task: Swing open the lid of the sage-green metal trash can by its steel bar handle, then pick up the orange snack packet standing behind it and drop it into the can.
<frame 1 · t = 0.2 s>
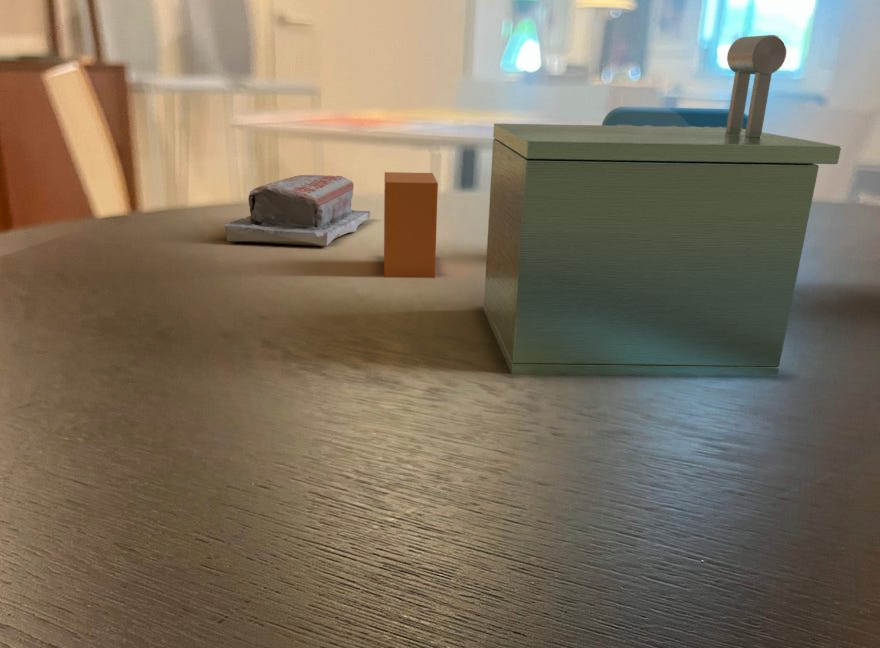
packaged product: (302, 235, 102), on the table
bin: (613, 343, 63), on the table
data package: (657, 265, 89), on the table
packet: (408, 269, 84), on the table
bin lid: (651, 93, 56), point 14 cm above the table, hinge at 0.0°
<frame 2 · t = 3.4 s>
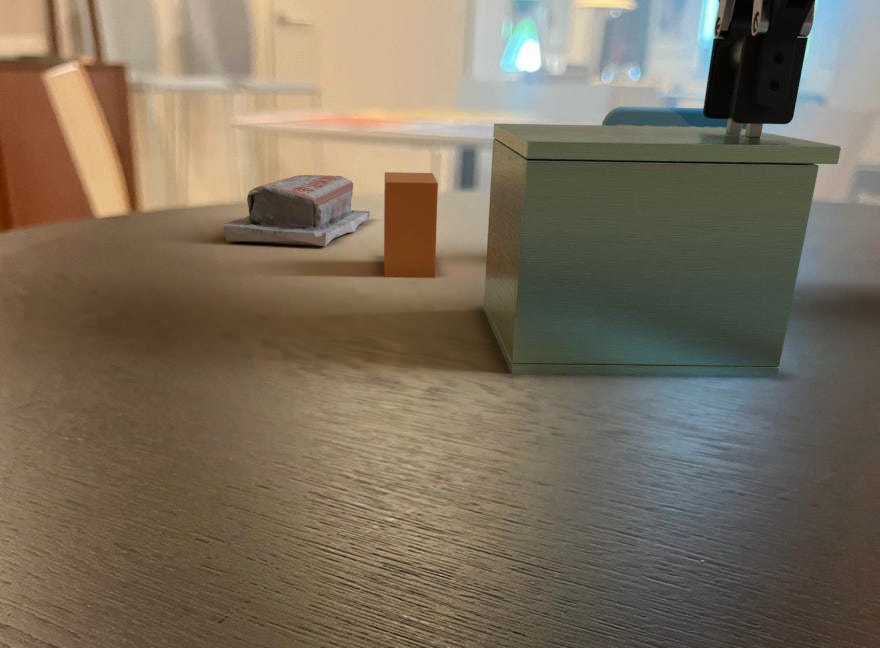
hand: (745, 117, 57), 13 cm above the table, tool pointing down, fingers closed on bin lid, 4 cm apart
bin lid: (651, 93, 56), point 14 cm above the table, hinge at 0.0°, touching gripper
everything else where it was.
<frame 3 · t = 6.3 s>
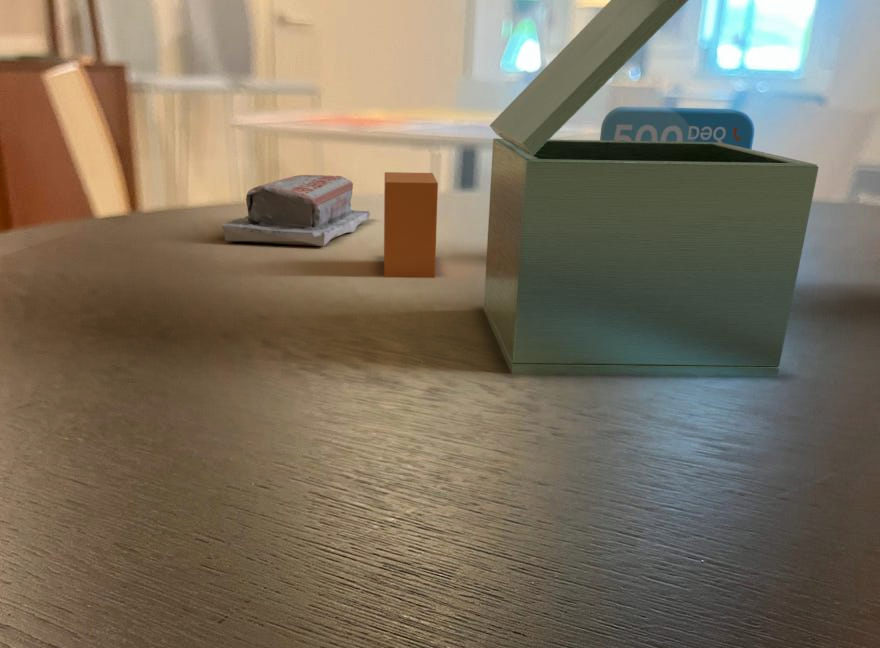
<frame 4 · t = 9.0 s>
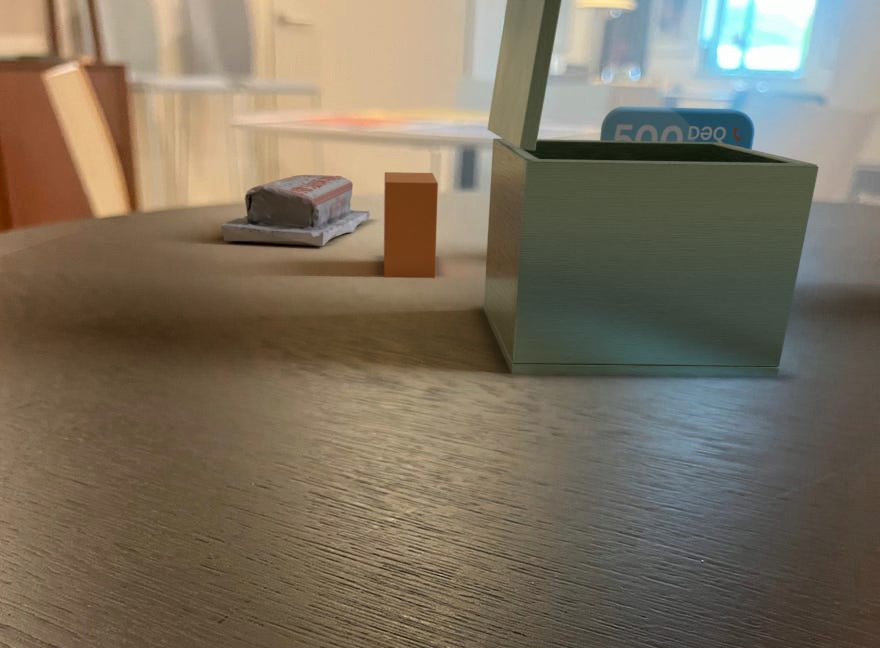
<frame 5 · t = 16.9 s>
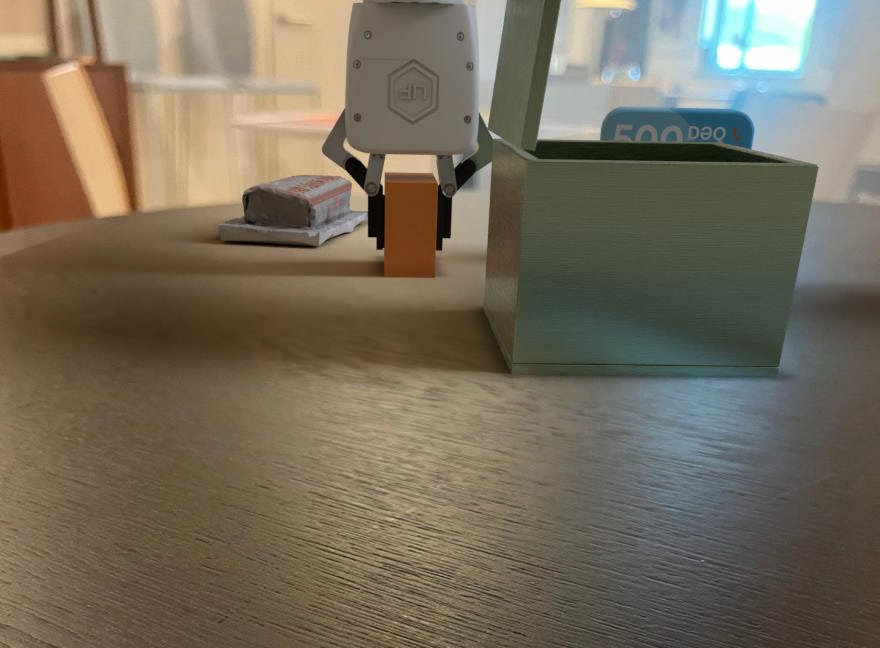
hand: (408, 245, 83), 2 cm above the table, tool pointing down, fingers closed on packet, 4 cm apart
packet: (408, 269, 84), on the table, touching gripper
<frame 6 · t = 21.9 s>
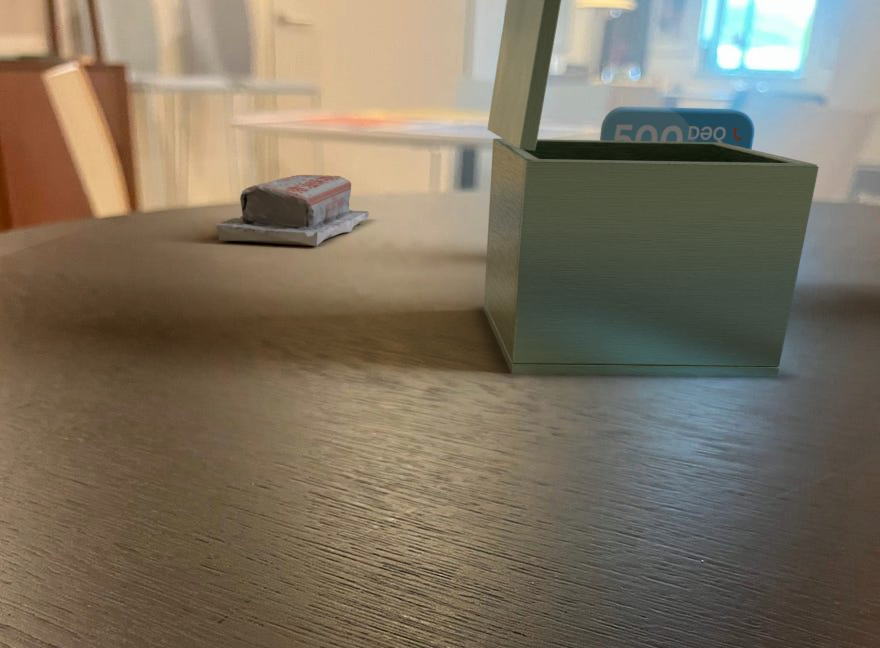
when the fingers open (12 cm above the table, at t = 27.4 s): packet drops 9 cm, resting on bin.
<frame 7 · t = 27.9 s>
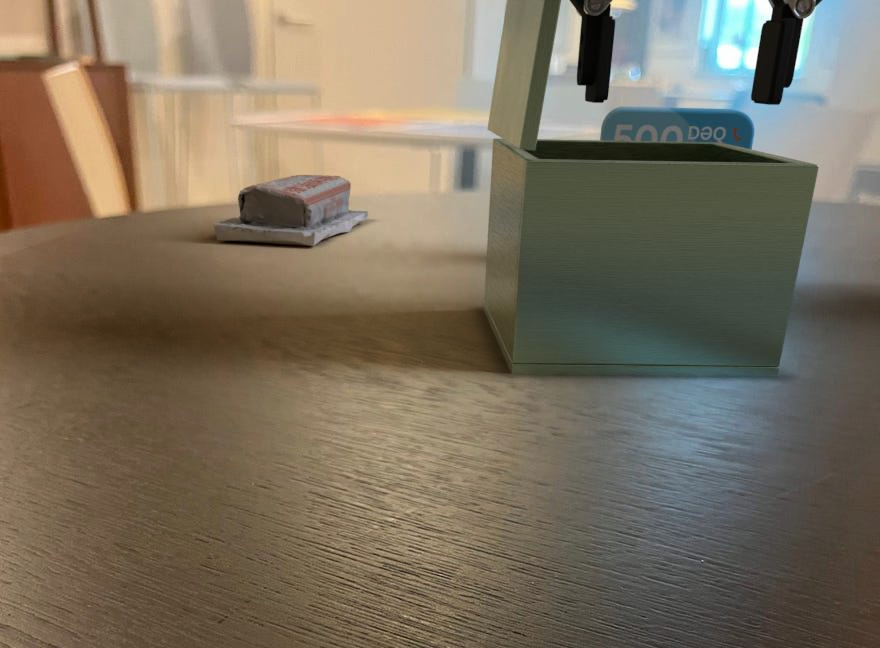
hand: (680, 102, 56), 13 cm above the table, tool pointing down, fingers open, 9 cm apart
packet: (648, 331, 63), point 1 cm above the table, touching bin
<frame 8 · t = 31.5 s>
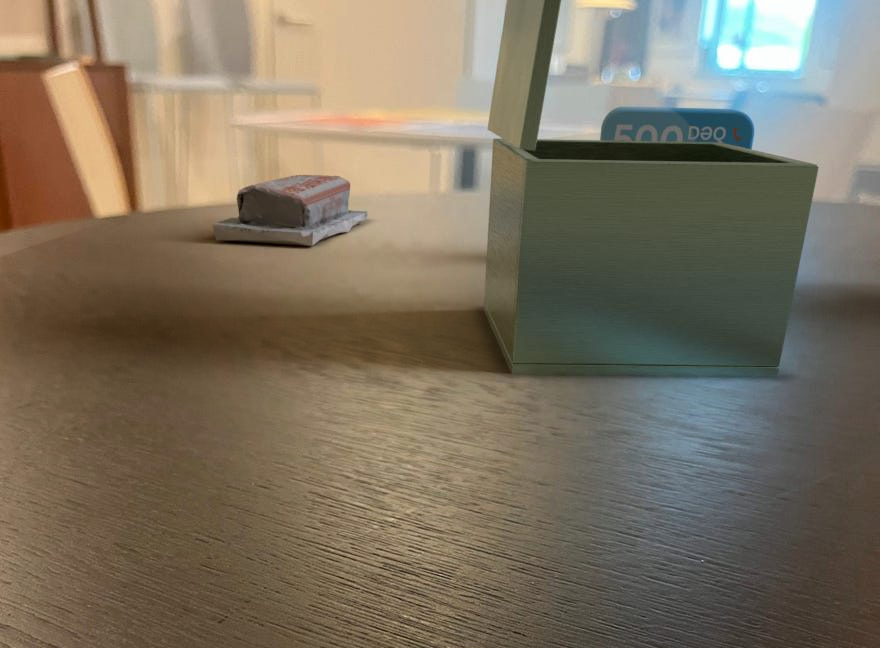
at the end: bin lid at +84° (first picture: +0°); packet inside the target area in the bin (2.1 cm from its centre), point 0.8 cm above the bin's base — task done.
